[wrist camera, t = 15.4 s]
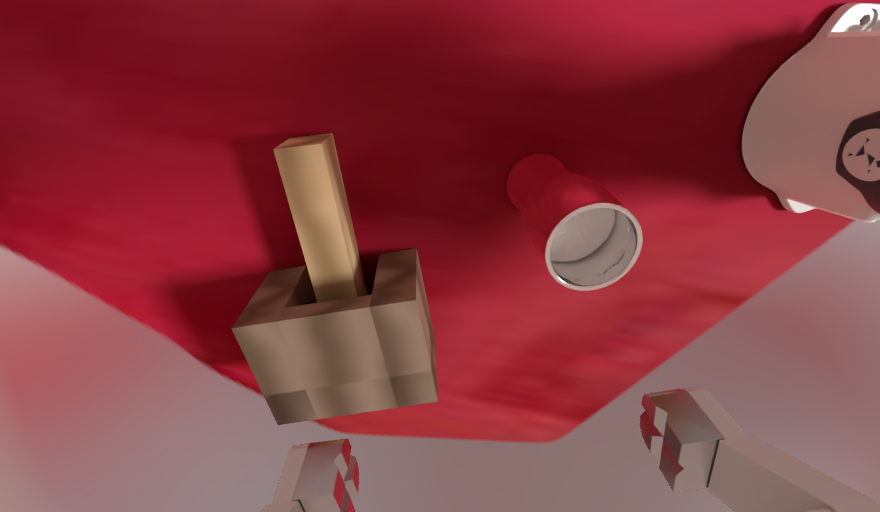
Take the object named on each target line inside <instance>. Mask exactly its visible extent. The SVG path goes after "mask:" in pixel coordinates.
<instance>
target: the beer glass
mask: <svg viewBox="0 0 880 512" xmlns="http://www.w3.org/2000/svg"><path fill="white" fill-rule="evenodd" d="M506 189H507V194H508V197H509V199H510V201H511V202H512V204H513V205H514V206H515V207H516V208H518V209H519V210H520V211H521V215H522V222H523V226H524V230H525V234H526V237H527V239H528V241H529V243H530V245H531V247H532V249H533V250H534V252H535V253H536V255H537V257H538V258H539V259H540V261H541V262H542V263H543V264H544V266H545V267H546V268H547V269H548V271H549V272H550V274H551V275H552V277H553V278H554V279H555V280H556V281H557V282H559V283H560V284H561V285H563V286H565V287H567V288H570V289H574V290H581V291H588V290H596V289H600V288H603V287H606V286H608V285H610V284H612V283H614V282H616V281H617V280H619V279H620V278H621V277H623V276H624V275H625V274H626V273H627V272H628V271H629V270H630V269H631V268H632V266H633V265H634V263H635V262H636V260H637V258H638V256H639V254H640V251H641V247H642V241H643V235H642V229H641V226H640V224H639V222H638V220H637V218H636V217H635V216H634V215H633V214H632V213H631V212H630V211H629V210H627V209H626V207H625V206H624V205H623V204H622V203H621V202H620V201H619V200H618V199H617V198H616V197H615V196H614V195H613V194H611V193H610V192H609V191H608V190H607V189H605V188H604V187H602V186H601V185H599V184H598V183H596V182H595V181H593V180H591V179H588V178H586V177H583V176H581V175H578V174H574V173H571V172H567V170H566V168H565V167H564V165H563V164H562V162H561V161H560V160H559V159H557V158H556V157H554V156H552V155H549V154H545V153H536V154H531V155H528V156H526V157H524V158H522V159H521V160H520V161H518V162H517V163H516V164H515V165H514V167H513V168H512V169H511V171H510V173H509V175H508V178H507V184H506Z"/></svg>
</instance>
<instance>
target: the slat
mask: <svg viewBox="0 0 880 512" xmlns="http://www.w3.org/2000/svg"><path fill="white" fill-rule="evenodd" d="M273 150H274V154H275V157H276V161H277V164H278V168H279V171H280V175H281V178H282V182H283V185H284V188H285V192H286V195H287V199H288V202H289V206H290V209H291V213H292V216H293V220H294V223H295V227H296V230H297V233H298V237H299V240H300V244H301V247H302V251H303V254H304V258H305V261H306V265H307V268H308V272H309V275H310V279H311V282H312V285H313V289H314V292H315V296H316V299H317V303H320V302H326V301H333V300H339V299H346V298H352V297H359V296H365V295H368V293H367V288H366V284H365V279H364V274H363V270H362V265H361V261H360V256H359V251H358V247H357V242H356V238H355V233H354V229H353V224H352V219H351V215H350V210H349V206H348V201H347V197H346V192H345V187H344V183H343V178H342V174H341V169H340V165H339V160H338V155H337V151H336V146H335V142H334V137H333V133H330V134H321V135H312V136H303V137H295V138H289V139H288V140H286V141H285V142H283V143H282V144H280V145H279V146H277V147H276V148H274V149H273Z"/></svg>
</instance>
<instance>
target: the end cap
mask: <svg viewBox="0 0 880 512" xmlns="http://www.w3.org/2000/svg"><path fill="white" fill-rule="evenodd" d="M231 329H232V331H233V333H234V335H235V337H236V339H237V341H238V343H239V345H240V348H241V350H242V352H243V354H244V356H245V358H246V360H247V362H248V364H249V366H250V368H251V370H252V372H253V374H254V376H255V379H256V381H257V383H258V385H259V387H260V389H261V391H262V393H263V395H264V397H265V399H266V401H267V403H268V405H269V407H270V409H271V412H272V414H273V416H274V417H275V420H276V422H277V424H278V425H281V424H288V423H295V422H301V421H309V420H316V419H322V418H329V417H336V416H343V415H350V414H356V413H363V412H370V411H377V410H384V409H390V408H397V407H404V406H411V405H418V404H425V403H431V402H438V396H437V377H436V358H435V340H434V333H433V328H432V323H431V318H430V313H429V308H428V303H427V298H426V293H425V288H424V283H423V278H422V273H421V268H420V263H419V257H418V252H417V248H414V249H408V250H401V251H395V252H389V253H382V254H379V260H378V265H377V270H376V275H375V281H374V286H373V291H372V294H371V295H365V296H359V297H352V298H346V299H339V300H333V301H326V302H320V303H317V299H316V296H315V292H314V289H313V285H312V282H311V279H310V275H309V273H308V270H307V267H306V266H300V267H294V268H287V269H281V270H274V271H269V273H268V274H267V276H266V277H265V279H264V280H263V282H262V283H261V285H260V286H259V288H258V289H257V291H256V292H255V294H254V295H253V297H252V298H251V300H250V301H249V303H248V304H247V306H246V307H245V309H244V310H243V312H242V313H241V315H240V316H239V318H238V319H237V321H236V322H235V324H234V325H233V327H232V328H231Z"/></svg>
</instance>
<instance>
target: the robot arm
mask: <svg viewBox="0 0 880 512" xmlns="http://www.w3.org/2000/svg"><path fill="white" fill-rule="evenodd" d="M861 18H862V21H861V22H860V19H861ZM742 154H743V159H744V162H745V165H746V167H747V169H748V171H749V173H750V174H751V176H752V177H753V178H754V179H755V180H756V181H757V182H759V183H760V184H761V185H763V186H765V187H767V188H769V189H771V190H772V191H774V192H775V193H776V194H777V196H778V198H779V200H780V202H781V204H782V205H783V207H784V208H785V209H786V210H789V211H792V212H795V213H802V212H806V211H809V210H812V209H815V208H818V209H821V210H824V211H827V212H831V213H834V214H837V215H840V216H844V217H847V218H850V219H854V220H857V221H861V222H866V223H873V222H875V221H876V220H880V4H871V3H847V4H844V5H842V6H841V7H839V8H838V9H837V10H836V11H835V12H834V13H833V14H832V15H831V16H830V18H829V19H828V20H827V21H826V23H825V24H824V25H823V27H822V28H821V29H820V31H819V32H818V33H817V35H816V36H815V37H814V38H813V39H812V40H811V41H810V42H809V43H808V44H807V45H806V46H805V47H803V48H802V49H801V50H799V51H798V52H797V53H795V54H794V55H793V56H792V57H790V58H789V59H788V60H787V61H786V62H784V63H783V64H782V65H781V66H780V67H779V68H778V69H777V70H776V71H775V72H774V74H773V75H772V76H771V77H770V78H769V79H768V81H767V82H766V83H765V84H764V86H763V87H762V89H761V90H760V92H759V93H758V95H757V97H756V98H755V100H754V102H753V104H752V106H751V108H750V111H749V113H748V116H747V118H746V122H745V125H744V130H743V135H742ZM642 406H643V408H644V409H645V412H644V413H643V414H642V415H641V416H640V429H641V433H642V437H643V439H644V442H645V444H646V446H647V448H648V449H649V451H650V453H652V454H653V455H655V456H656V457H658V458H659V459H660V465H659V469H660V470H661V472H662V474H663V475H664V477H665V479H666V481H667V482H668V484H669V486H670V487H671V489H672V491H673V492H680V491H689V490H698V489H707V488H708V491H709V492H710V493H712V494H713V495H714V496H715V497H717V498H718V499H720V500H721V501H722V502H723V503H724V504H726V505H727V506H728V507H729V508H731V509H732V510H733V511H735V512H880V504H878V503H877V502H876V501H875V500H873V499H872V498H870V497H868V496H866V495H864V494H862V493H861V492H859V491H857V490H855V489H853V488H851V487H849V486H847V485H845V484H843V483H842V482H840V481H838V480H836V479H834V478H832V477H830V476H828V475H826V474H825V473H823V472H821V471H819V470H817V469H815V468H813V467H811V466H810V465H808V464H806V463H804V462H802V461H800V460H798V459H796V458H794V457H793V456H791V455H788V454H787V453H785V452H783V451H781V450H779V449H777V448H775V447H774V446H772V445H770V444H768V443H766V442H764V441H762V440H760V439H759V438H757V437H755V436H747V435H746V434H745V433H744V432H743V431H742V430H741V428H740V427H739V426H738V425H737V424H736V423H735V422H734V420H733V419H732V418H731V417H730V416H729V415H728V413H727V412H726V411H725V410H724V409H723V408H722V407H721V405H720V404H719V403H718V402H717V401H716V399H715V398H714V397H713V396H712V395H711V394H710V393H709V391H708V390H707V389H706V388H704V387H702V386H697V387H691V388H684V389H675V390H669V391H662V392H656V393H650V394H645V395H644V396H643V398H642ZM350 452H351V445H350V442H349V440H348V439H340V440H332V441H324V442H316V443H308V444H300V445H293V446H292V448H291V449H290V451H289V452H288V455H287V459H286V462H285V465H284V468H283V471H282V474H281V477H280V480H279V483H278V486H277V489H276V492H275V496H274V498H273V502H272V504H270V505H266V506H265V507H264V508H263V509H262V510H261V511H260V512H356V510H355V508H354V505H353V503H352V501H353V500H354V499H355V497H356V496H357V495H358V490H359V468H358V463H357V461H356V458H355V457H354V456H352V455H351V454H350Z"/></svg>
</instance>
